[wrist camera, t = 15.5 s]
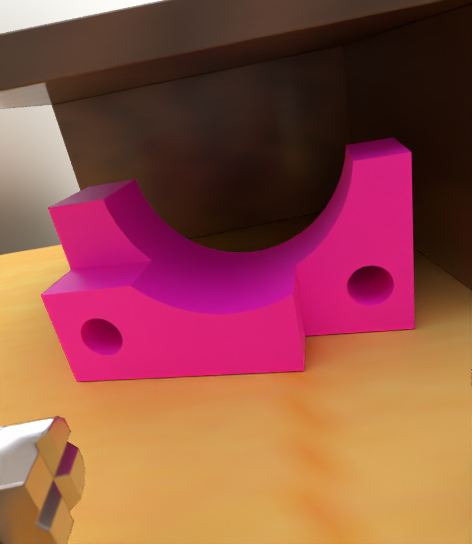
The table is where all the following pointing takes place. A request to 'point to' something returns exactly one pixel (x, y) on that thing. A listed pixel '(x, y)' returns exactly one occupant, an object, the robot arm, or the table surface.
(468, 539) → the table surface
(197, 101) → the shelf
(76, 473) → the robot arm
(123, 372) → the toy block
